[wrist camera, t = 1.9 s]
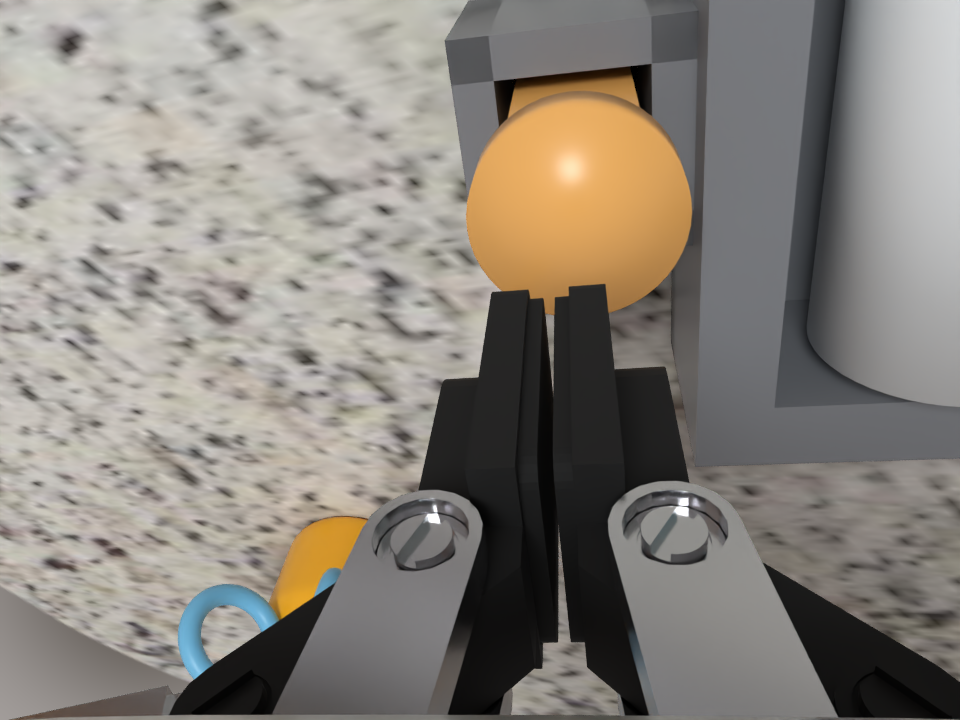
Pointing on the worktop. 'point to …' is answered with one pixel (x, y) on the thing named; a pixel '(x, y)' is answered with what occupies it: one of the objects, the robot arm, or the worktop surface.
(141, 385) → the worktop surface
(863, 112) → the cartridge
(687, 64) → the housing
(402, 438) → the worktop surface
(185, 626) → the ringed yellow tube
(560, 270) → the plunger
